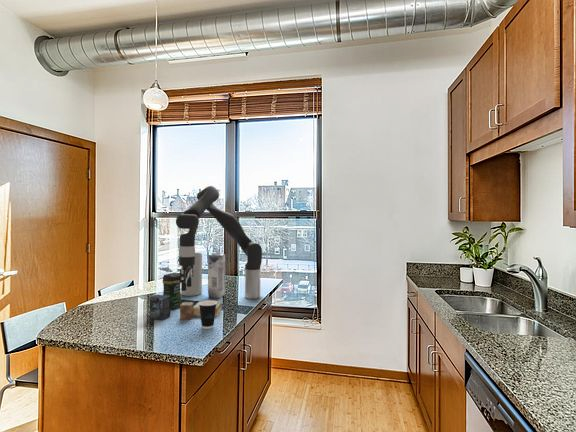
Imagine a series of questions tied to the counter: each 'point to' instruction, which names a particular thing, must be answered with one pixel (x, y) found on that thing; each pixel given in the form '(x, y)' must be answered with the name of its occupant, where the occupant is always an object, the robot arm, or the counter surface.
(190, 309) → the walnut block
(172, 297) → the coffee jar
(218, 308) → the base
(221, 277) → the juice carton
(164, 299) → the box
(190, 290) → the cylinder vase
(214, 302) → the dixie cup
